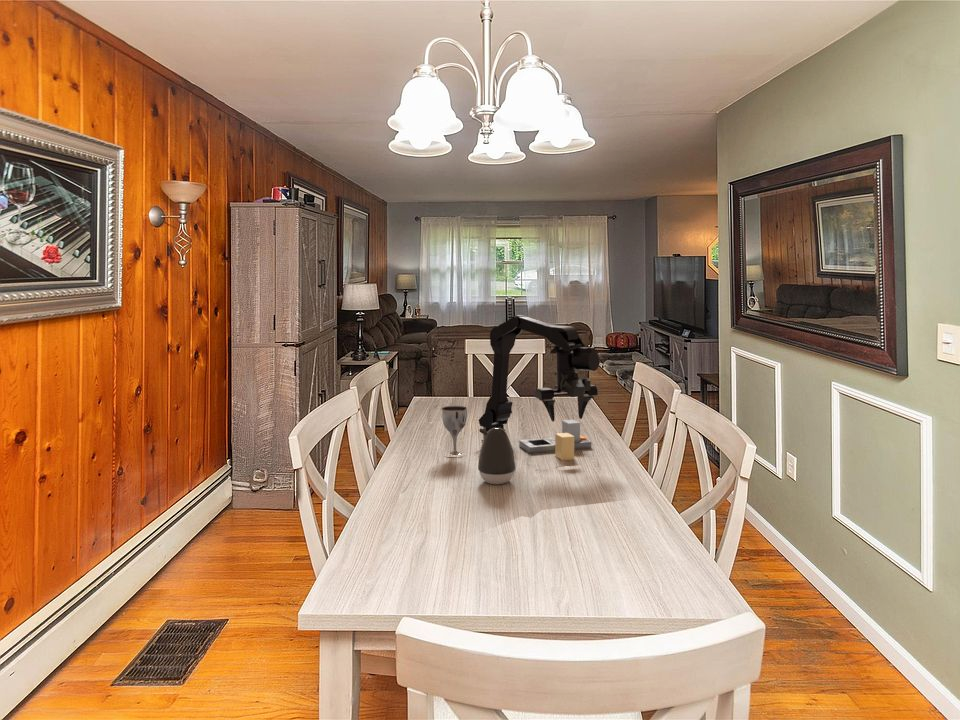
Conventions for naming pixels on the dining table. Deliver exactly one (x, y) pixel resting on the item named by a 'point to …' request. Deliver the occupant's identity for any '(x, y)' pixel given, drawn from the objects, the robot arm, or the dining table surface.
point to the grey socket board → (549, 445)
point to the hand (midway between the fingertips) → (566, 420)
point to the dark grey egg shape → (496, 457)
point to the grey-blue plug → (571, 428)
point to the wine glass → (454, 422)
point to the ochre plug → (564, 446)
